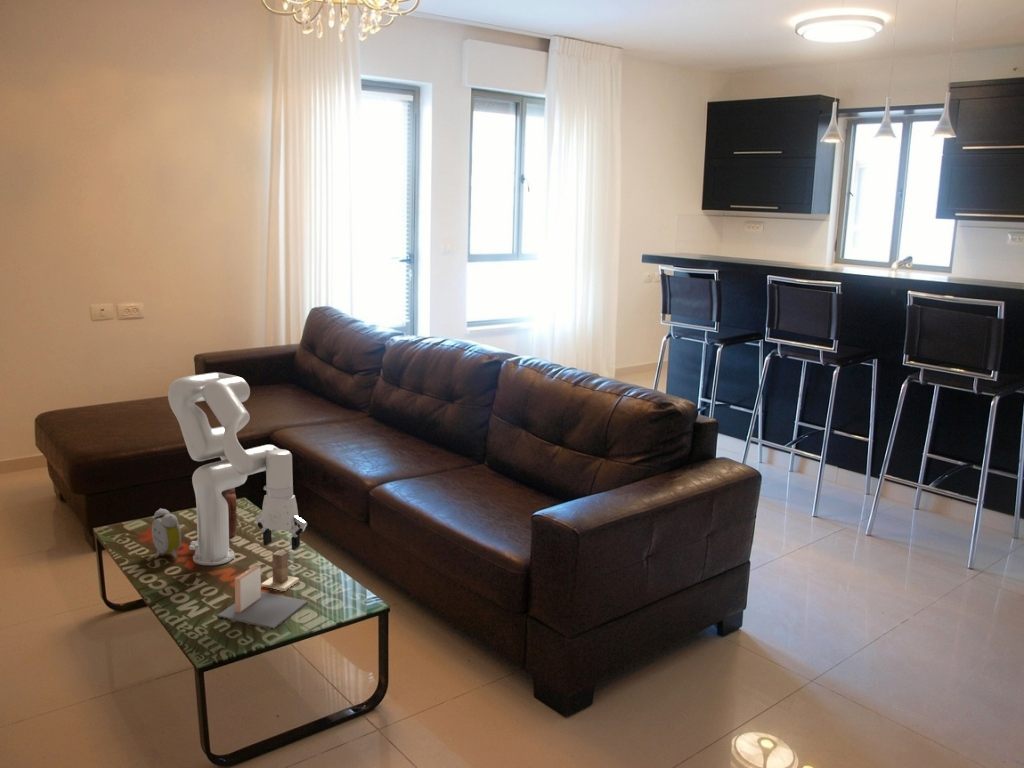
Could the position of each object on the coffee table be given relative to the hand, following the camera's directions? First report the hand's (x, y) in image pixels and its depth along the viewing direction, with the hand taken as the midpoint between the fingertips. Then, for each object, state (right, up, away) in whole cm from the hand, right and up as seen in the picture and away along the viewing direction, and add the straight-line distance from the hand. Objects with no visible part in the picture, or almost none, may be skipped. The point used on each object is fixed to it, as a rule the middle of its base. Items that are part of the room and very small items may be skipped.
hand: (281, 546), depth 248 cm
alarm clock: (-43, -7, +19) cm, 48 cm away
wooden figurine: (-31, -3, +41) cm, 51 cm away
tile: (-6, -9, -13) cm, 17 cm away
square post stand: (-1, -12, +3) cm, 13 cm away
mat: (-1, -15, -14) cm, 21 cm away
